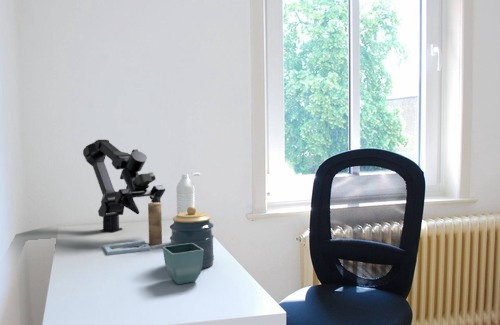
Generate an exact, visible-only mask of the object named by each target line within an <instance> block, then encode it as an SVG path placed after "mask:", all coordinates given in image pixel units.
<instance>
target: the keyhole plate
mask: <svg viewBox="0 0 500 325" xmlns="http://www.w3.org/2000/svg"><path fill="white" fill-rule="evenodd" d="M103 249H104V251H105V253H106V254H107V255H108V256H110V255H120V254H130V253H140V252H148V251H151V250H152V249H151V245H150V244H149V243H147V242H146V241H145V240H139V241H131V242H120V243H119V242H118V243H109V244H108V243H107V244H103Z"/></svg>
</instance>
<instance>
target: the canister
mask: <svg viewBox="0 0 500 325" xmlns="http://www.w3.org/2000/svg"><path fill="white" fill-rule="evenodd" d="M211 218H212V217H211V216H210V215H208V214H207V213H206V212H202V211H197V209H196V207H195V206H194V207H193V206H190V207H188V209H187V212H184V213H179V214H177V213H176V215H175V216H174V217H173V218H172V221H173V223H172V224H171V225H170V226H169V228H170V230H171V235H170V237H169V238H170V239H169V240H170V246H173V245H180V244H187V243H194V244H195V245H197V246H199V247H200V248H202V249H204V253H203V263H202V269H207V268H209V267H212V265H214V260H215V255H214V234H213V230H212V229H213V228H214V224H213V223H212V222H211V221H210V220H211ZM202 269H201V270H202Z"/></svg>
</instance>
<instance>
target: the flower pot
mask: <svg viewBox="0 0 500 325" xmlns="http://www.w3.org/2000/svg"><path fill="white" fill-rule="evenodd" d="M162 252H163V260H164V265H165V268H166V271H167V272H168V273H167V274H168V275H169V276H170V279H172V281H173V282H174V283H176V284H177V285H182V284H187V283H193V282H196V281H197V279H198V278H199V276H200V274H201V272H202V263H203V253H204V249H202V248H200V247H199V246H197V245H195V244H194V243H187V244H180V245H173V246H171V245H167V246H166V245H165V246H162Z"/></svg>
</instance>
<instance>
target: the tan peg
mask: <svg viewBox="0 0 500 325" xmlns="http://www.w3.org/2000/svg"><path fill="white" fill-rule="evenodd" d="M147 211H148V212H147V213H148V245H149V246H151V245H152V246H156V245H157V246H158V245H162V244H163V232H162V231H163V227H162V225H163V224H162V223H163V222H162V219H163V218H162V203H152V202H149V203H147Z"/></svg>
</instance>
